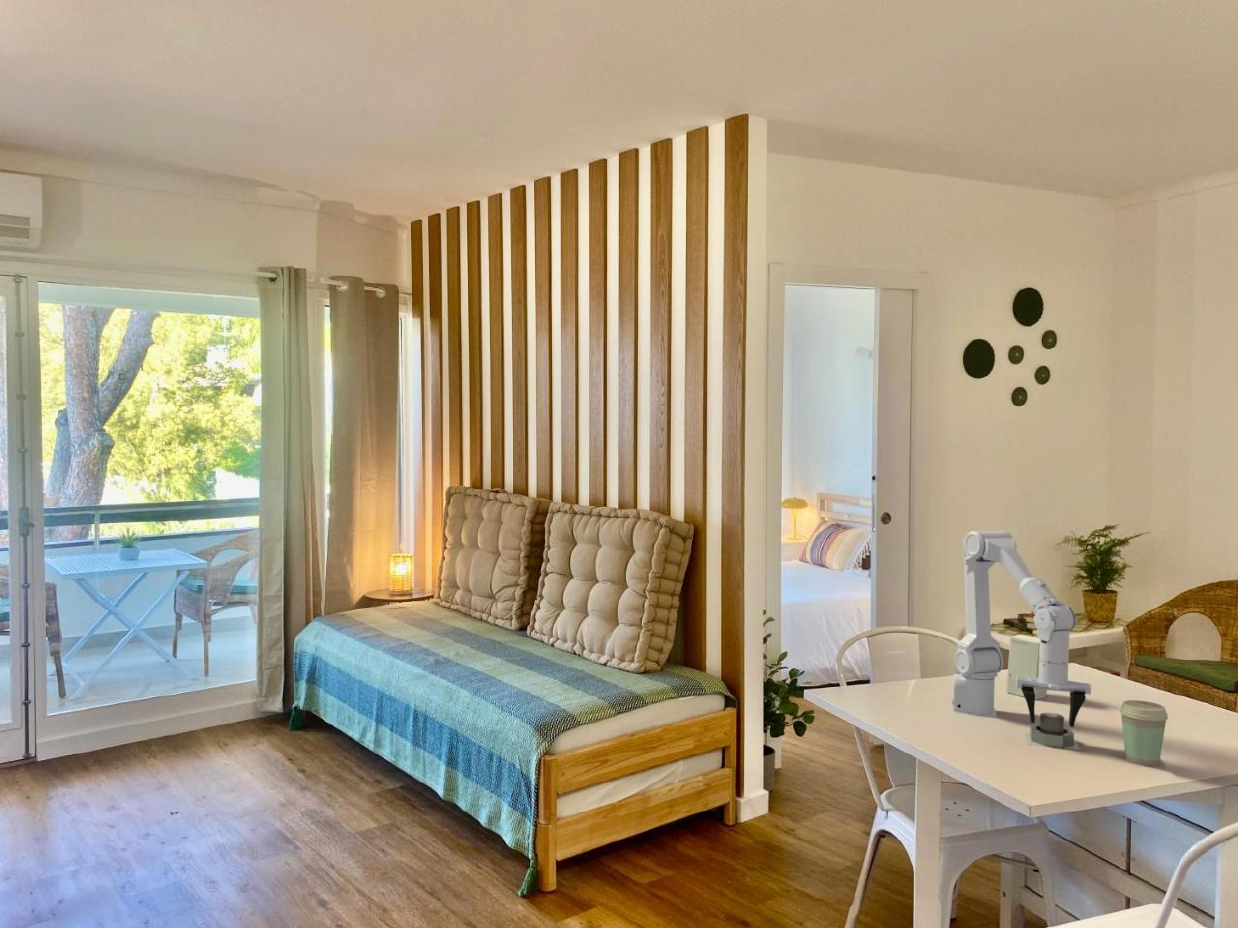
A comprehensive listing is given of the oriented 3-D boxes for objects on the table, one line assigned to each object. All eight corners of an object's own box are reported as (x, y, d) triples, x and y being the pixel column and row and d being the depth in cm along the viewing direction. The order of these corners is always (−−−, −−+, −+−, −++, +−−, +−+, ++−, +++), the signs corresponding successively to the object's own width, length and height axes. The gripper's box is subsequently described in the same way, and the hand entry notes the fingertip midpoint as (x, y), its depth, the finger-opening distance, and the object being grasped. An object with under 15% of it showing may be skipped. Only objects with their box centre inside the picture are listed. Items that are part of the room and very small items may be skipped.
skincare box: (1005, 693, 241) (1007, 636, 240) (1018, 689, 244) (1019, 633, 244) (1037, 700, 234) (1038, 641, 234) (1049, 696, 238) (1050, 639, 237)
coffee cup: (1176, 770, 184) (1178, 711, 184) (1135, 771, 184) (1137, 711, 183) (1148, 756, 193) (1150, 698, 192) (1109, 756, 192) (1110, 699, 192)
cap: (1041, 740, 198) (1041, 716, 198) (1038, 734, 203) (1039, 710, 203) (1064, 743, 197) (1065, 718, 197) (1061, 736, 201) (1062, 712, 201)
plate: (1028, 746, 198) (1028, 743, 198) (1024, 735, 205) (1024, 732, 205) (1079, 752, 194) (1079, 749, 194) (1074, 740, 202) (1074, 738, 202)
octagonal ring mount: (1032, 744, 197) (1033, 732, 197) (1028, 733, 205) (1029, 721, 205) (1075, 749, 195) (1075, 737, 195) (1069, 737, 202) (1070, 726, 202)
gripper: (1018, 661, 198) (1016, 725, 198) (1094, 668, 193) (1092, 732, 194) (1015, 654, 205) (1014, 715, 205) (1088, 660, 200) (1086, 723, 200)
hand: (1051, 723), depth 200 cm, fingers open, 7 cm apart
